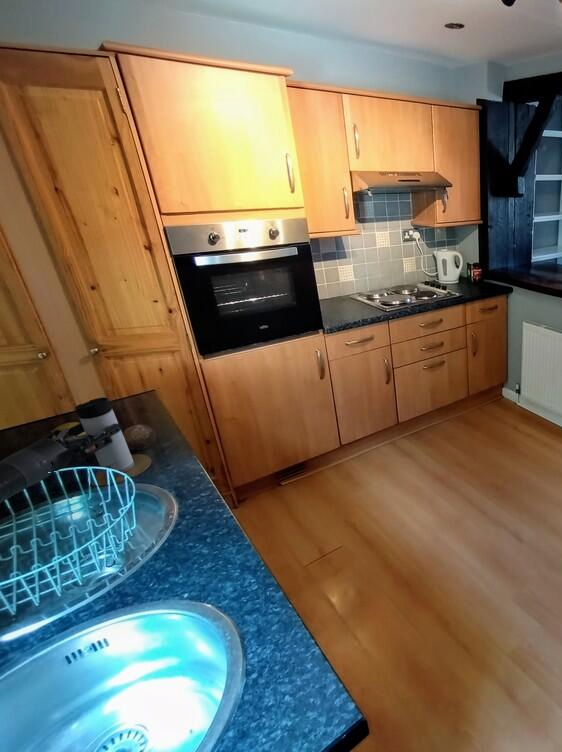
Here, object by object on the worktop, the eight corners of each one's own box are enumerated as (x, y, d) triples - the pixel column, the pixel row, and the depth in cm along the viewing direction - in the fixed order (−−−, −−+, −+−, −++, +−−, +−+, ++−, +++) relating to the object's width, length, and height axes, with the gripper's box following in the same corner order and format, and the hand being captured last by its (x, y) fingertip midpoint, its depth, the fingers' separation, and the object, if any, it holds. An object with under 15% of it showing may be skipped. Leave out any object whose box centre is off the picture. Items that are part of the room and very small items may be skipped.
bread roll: (89, 427, 136) (84, 415, 135) (86, 440, 130) (80, 428, 128) (52, 435, 132) (47, 423, 130) (47, 449, 125) (41, 437, 124)
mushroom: (115, 435, 126) (120, 420, 124) (150, 433, 133) (156, 420, 130) (118, 458, 123) (125, 443, 120) (154, 455, 129) (161, 441, 126)
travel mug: (114, 478, 113) (84, 409, 105) (98, 473, 115) (67, 404, 107) (141, 465, 118) (114, 397, 110) (124, 459, 120) (97, 393, 112)
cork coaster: (80, 492, 109) (80, 490, 109) (94, 463, 119) (94, 462, 119) (146, 476, 115) (146, 474, 115) (154, 450, 125) (154, 449, 125)
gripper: (11, 476, 99) (82, 436, 114) (69, 480, 98) (134, 440, 113) (-5, 447, 96) (71, 410, 111) (55, 451, 95) (123, 414, 110)
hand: (102, 425), depth 112 cm, fingers open, 8 cm apart
